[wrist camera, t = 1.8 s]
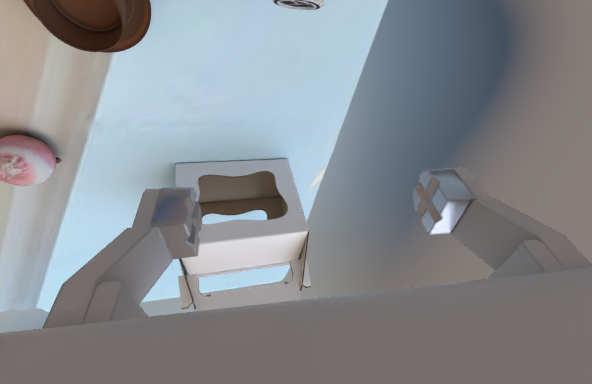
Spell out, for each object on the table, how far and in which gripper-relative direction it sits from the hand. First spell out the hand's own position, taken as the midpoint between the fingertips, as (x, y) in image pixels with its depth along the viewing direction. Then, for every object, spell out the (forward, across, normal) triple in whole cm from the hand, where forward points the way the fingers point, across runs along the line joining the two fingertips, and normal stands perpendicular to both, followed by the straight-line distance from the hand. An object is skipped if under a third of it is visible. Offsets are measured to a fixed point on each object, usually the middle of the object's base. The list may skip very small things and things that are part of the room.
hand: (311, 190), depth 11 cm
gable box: (+40, +8, +37) cm, 55 cm away
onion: (+35, +37, +21) cm, 55 cm away
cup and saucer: (+34, +19, +1) cm, 39 cm away
